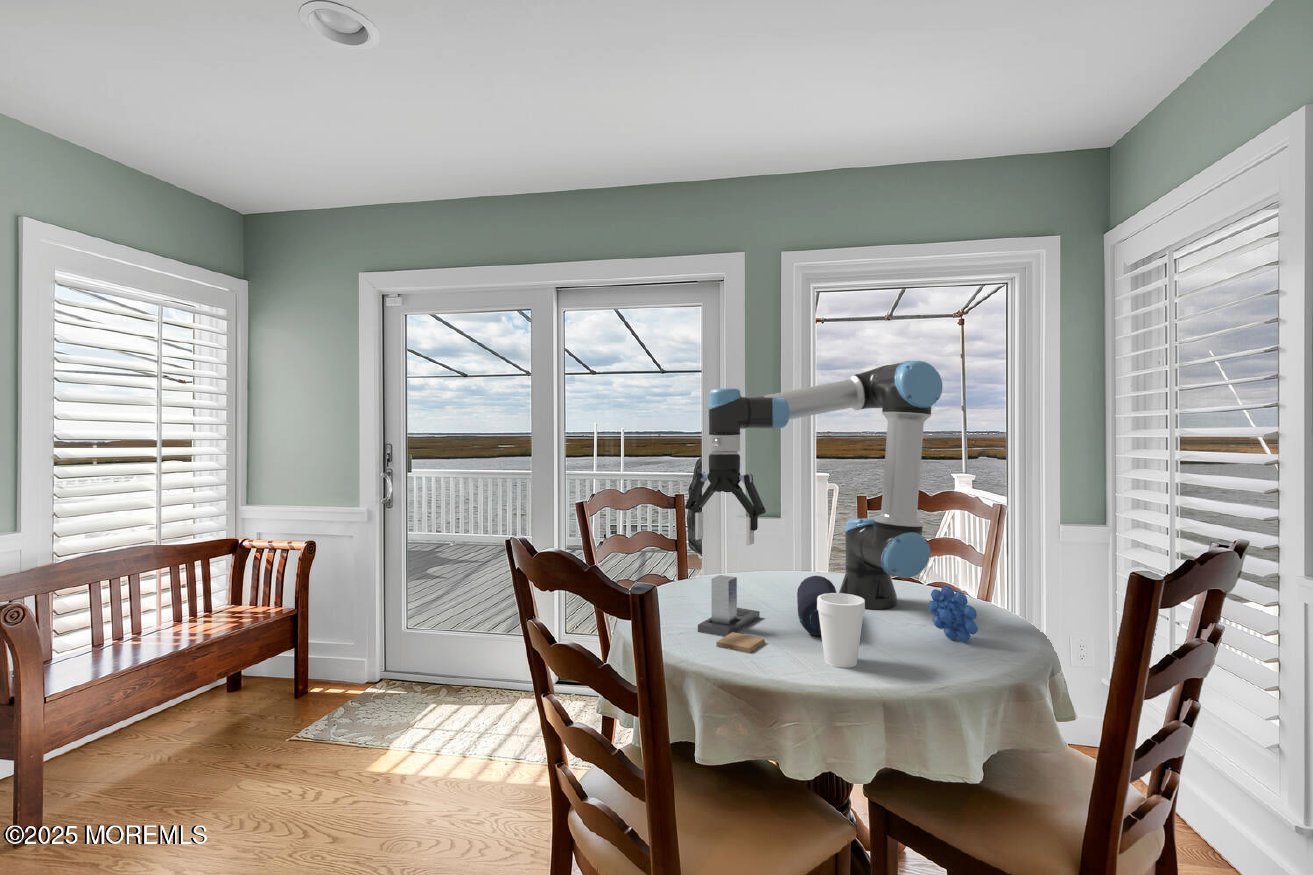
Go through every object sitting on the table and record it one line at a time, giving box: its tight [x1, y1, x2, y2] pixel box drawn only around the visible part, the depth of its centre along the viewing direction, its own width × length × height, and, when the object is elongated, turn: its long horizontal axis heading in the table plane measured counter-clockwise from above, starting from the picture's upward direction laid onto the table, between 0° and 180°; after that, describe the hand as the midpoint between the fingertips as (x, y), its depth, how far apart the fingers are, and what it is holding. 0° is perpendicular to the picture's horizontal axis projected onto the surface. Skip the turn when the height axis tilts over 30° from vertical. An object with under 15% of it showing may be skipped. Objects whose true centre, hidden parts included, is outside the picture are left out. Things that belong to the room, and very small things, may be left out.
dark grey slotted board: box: [697, 607, 761, 637], centre depth 159 cm, size 8×18×2 cm, turn 148°
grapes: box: [927, 585, 979, 643], centre depth 147 cm, size 12×7×12 cm, turn 36°
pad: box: [716, 632, 766, 654], centre depth 145 cm, size 8×8×1 cm
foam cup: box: [817, 592, 866, 669], centre depth 134 cm, size 10×9×13 cm
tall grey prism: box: [711, 574, 738, 626], centre depth 157 cm, size 4×4×12 cm
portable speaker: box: [796, 575, 838, 637], centre depth 160 cm, size 25×10×10 cm, turn 168°
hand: (724, 541), depth 156 cm, fingers open, 13 cm apart
